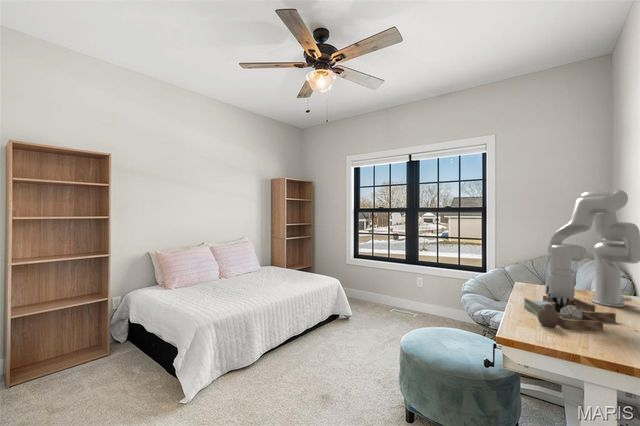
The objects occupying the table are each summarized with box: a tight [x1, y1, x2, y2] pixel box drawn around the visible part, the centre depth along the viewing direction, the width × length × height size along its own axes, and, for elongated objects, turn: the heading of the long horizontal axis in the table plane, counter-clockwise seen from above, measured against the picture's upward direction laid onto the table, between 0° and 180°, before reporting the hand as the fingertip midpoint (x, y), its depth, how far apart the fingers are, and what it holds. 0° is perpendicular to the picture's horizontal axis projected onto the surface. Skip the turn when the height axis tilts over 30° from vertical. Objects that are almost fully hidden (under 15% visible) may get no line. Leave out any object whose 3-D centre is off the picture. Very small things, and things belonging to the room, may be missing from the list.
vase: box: [537, 304, 559, 329], centre depth 122 cm, size 7×7×9 cm
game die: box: [558, 303, 584, 320], centre depth 125 cm, size 9×8×10 cm
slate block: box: [533, 300, 554, 308], centre depth 137 cm, size 6×6×5 cm
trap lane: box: [523, 295, 617, 332], centre depth 136 cm, size 30×38×5 cm
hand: (559, 312), depth 136 cm, fingers closed
